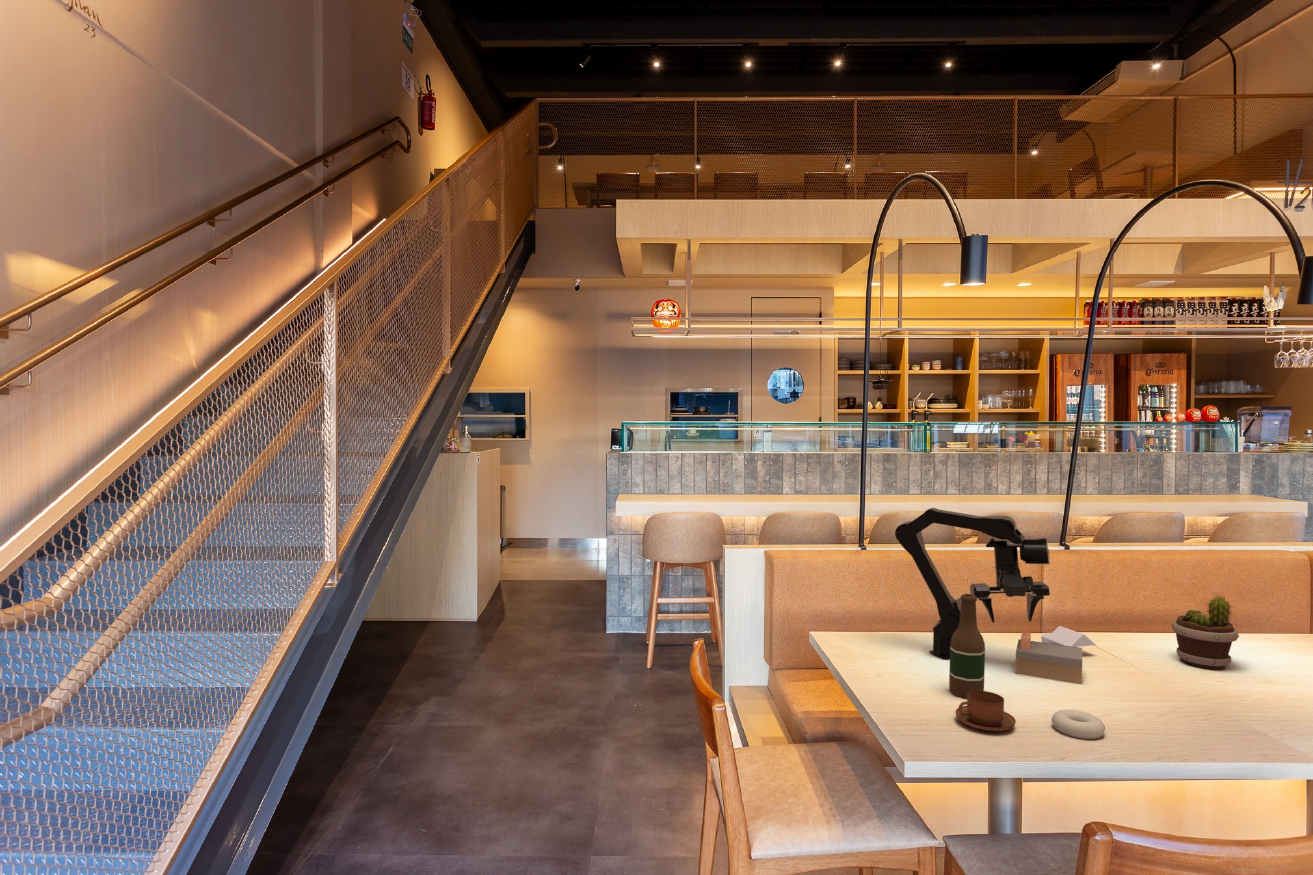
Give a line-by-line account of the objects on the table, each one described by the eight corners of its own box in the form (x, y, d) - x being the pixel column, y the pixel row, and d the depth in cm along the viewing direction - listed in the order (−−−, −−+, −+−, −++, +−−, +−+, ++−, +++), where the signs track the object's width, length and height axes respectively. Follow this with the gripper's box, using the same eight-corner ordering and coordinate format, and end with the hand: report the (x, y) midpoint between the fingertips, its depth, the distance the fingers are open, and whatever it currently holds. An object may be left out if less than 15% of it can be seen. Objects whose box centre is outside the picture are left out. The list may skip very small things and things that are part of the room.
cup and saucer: (989, 740, 155) (990, 711, 155) (943, 719, 166) (943, 691, 166) (1027, 730, 161) (1028, 701, 160) (980, 709, 171) (981, 683, 171)
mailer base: (1015, 673, 195) (1016, 653, 195) (1017, 662, 204) (1018, 643, 204) (1081, 683, 188) (1082, 662, 188) (1081, 672, 197) (1081, 652, 197)
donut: (1070, 719, 167) (1040, 726, 162) (1071, 704, 167) (1041, 710, 162) (1115, 737, 158) (1085, 745, 153) (1116, 720, 158) (1085, 728, 153)
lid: (1015, 657, 194) (1016, 639, 194) (1018, 645, 205) (1018, 628, 204) (1082, 667, 187) (1082, 648, 187) (1081, 654, 197) (1082, 636, 197)
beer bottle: (982, 690, 183) (984, 592, 182) (985, 701, 176) (987, 600, 175) (948, 686, 186) (950, 590, 185) (949, 697, 178) (952, 597, 177)
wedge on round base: (1095, 656, 210) (1059, 642, 222) (1096, 632, 210) (1059, 620, 222) (1069, 659, 207) (1034, 645, 220) (1070, 635, 207) (1034, 622, 220)
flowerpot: (1179, 668, 200) (1181, 594, 199) (1164, 652, 214) (1166, 582, 214) (1245, 676, 195) (1248, 600, 194) (1226, 658, 209) (1228, 587, 208)
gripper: (976, 570, 195) (981, 630, 195) (1054, 567, 191) (1059, 628, 191) (967, 563, 206) (971, 619, 206) (1040, 560, 202) (1045, 618, 202)
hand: (1011, 621), depth 201 cm, fingers open, 9 cm apart
